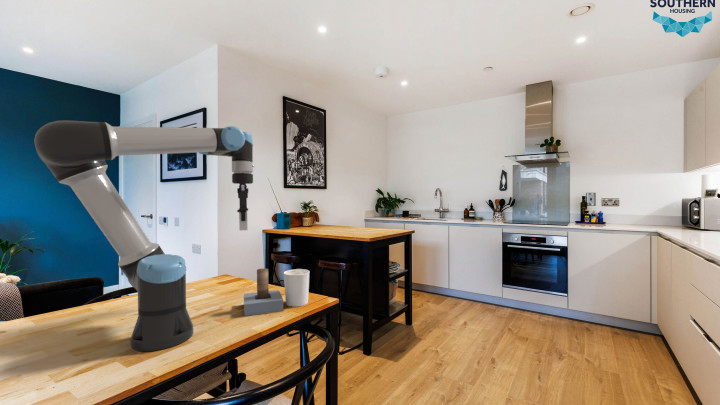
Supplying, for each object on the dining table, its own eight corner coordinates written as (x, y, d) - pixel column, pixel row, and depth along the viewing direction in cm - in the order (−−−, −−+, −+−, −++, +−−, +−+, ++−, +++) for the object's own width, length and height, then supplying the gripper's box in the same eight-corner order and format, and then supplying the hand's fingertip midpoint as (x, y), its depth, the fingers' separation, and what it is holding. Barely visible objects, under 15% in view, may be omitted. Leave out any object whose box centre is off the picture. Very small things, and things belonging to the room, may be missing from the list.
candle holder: (307, 307, 114) (306, 275, 114) (280, 307, 114) (280, 275, 114) (312, 298, 124) (311, 268, 124) (287, 299, 124) (287, 269, 124)
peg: (269, 308, 113) (268, 270, 113) (257, 310, 112) (257, 271, 112) (268, 305, 117) (267, 268, 117) (257, 306, 116) (256, 269, 116)
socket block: (244, 316, 106) (244, 304, 106) (243, 304, 118) (243, 293, 118) (283, 310, 111) (283, 299, 111) (278, 299, 123) (278, 289, 123)
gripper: (254, 170, 109) (254, 231, 109) (252, 175, 132) (252, 225, 132) (230, 170, 106) (231, 232, 106) (232, 175, 129) (233, 226, 130)
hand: (243, 228), depth 119 cm, fingers open, 13 cm apart
